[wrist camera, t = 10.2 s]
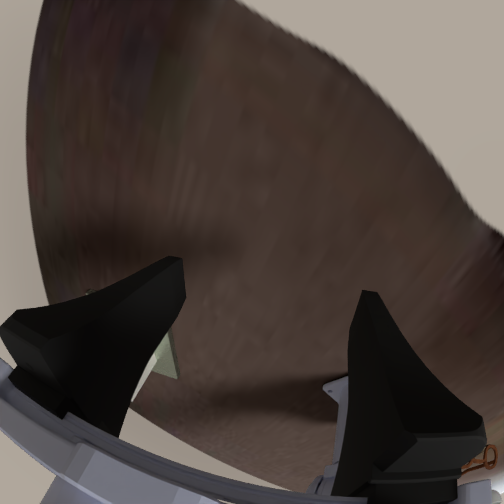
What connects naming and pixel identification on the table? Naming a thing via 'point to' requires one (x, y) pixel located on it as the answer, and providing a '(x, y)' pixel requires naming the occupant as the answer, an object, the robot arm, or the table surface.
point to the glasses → (482, 461)
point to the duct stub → (163, 355)
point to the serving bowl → (496, 497)
